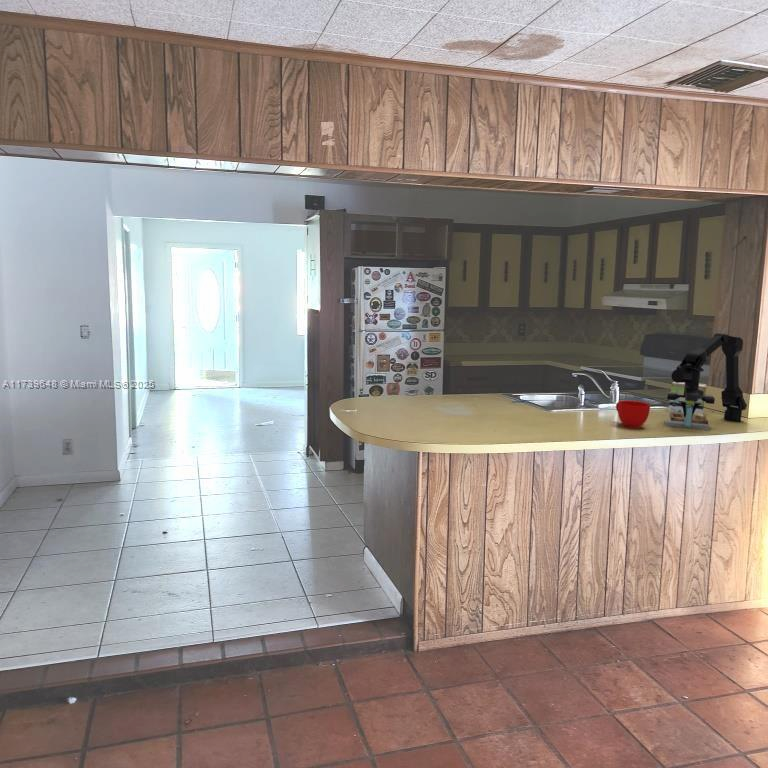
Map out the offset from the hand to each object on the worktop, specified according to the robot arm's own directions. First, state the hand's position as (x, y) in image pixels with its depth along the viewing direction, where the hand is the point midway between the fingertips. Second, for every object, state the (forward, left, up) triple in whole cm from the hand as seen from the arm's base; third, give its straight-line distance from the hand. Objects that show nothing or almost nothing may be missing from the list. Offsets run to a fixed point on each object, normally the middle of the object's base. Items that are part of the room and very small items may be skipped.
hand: (687, 417), depth 292 cm
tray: (-1, -13, -4) cm, 14 cm away
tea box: (-2, -34, -4) cm, 34 cm away
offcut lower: (-5, -13, -4) cm, 15 cm away
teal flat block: (0, 0, -3) cm, 3 cm away
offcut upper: (-5, -13, -2) cm, 14 cm away
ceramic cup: (+24, +11, -4) cm, 27 cm away
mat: (0, 0, -4) cm, 4 cm away
